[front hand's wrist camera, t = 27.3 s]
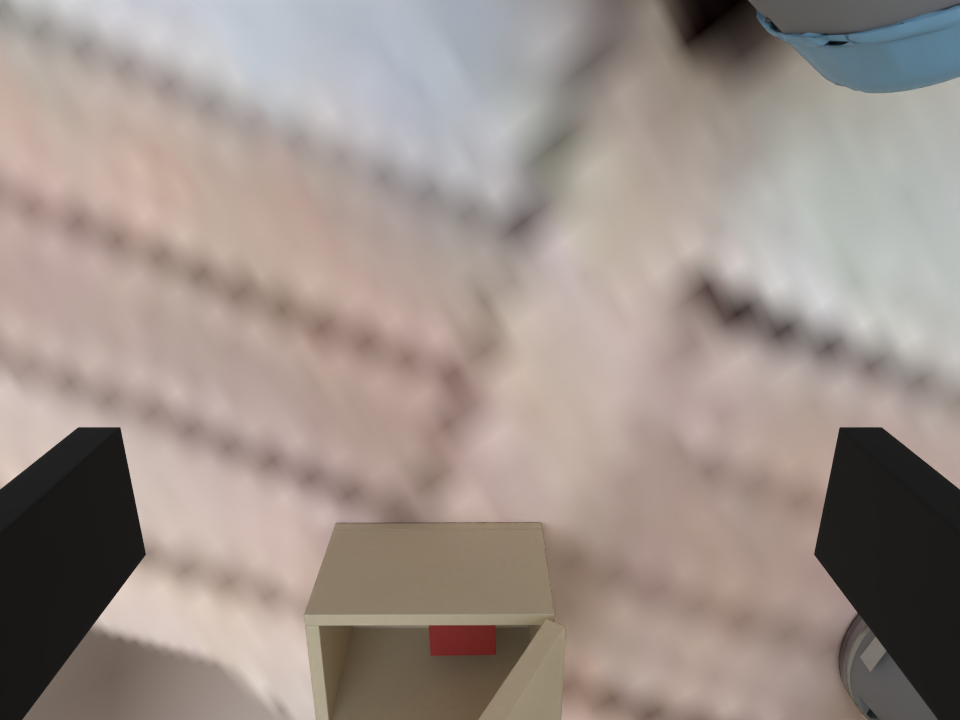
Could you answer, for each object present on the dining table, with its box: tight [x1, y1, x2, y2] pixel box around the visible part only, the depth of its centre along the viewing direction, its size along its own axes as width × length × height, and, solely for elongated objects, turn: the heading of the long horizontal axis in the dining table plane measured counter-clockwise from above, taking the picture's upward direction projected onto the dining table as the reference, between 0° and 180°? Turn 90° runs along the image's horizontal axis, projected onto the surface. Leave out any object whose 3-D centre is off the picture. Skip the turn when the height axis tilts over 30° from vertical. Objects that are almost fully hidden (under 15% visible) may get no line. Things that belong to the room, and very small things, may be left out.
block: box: [429, 625, 496, 656], centre depth 49 cm, size 5×5×5 cm
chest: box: [304, 523, 555, 720], centre depth 48 cm, size 15×10×10 cm, turn 90°
